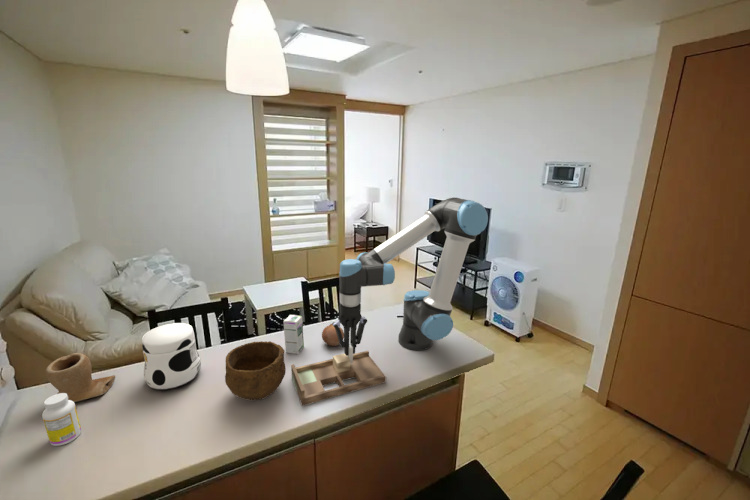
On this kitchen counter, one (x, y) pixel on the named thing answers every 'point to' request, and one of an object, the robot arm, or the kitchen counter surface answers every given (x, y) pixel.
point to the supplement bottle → (61, 419)
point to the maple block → (341, 363)
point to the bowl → (255, 370)
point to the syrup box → (293, 334)
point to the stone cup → (76, 378)
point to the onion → (331, 335)
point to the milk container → (170, 356)
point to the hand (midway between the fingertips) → (349, 361)
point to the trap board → (334, 378)
